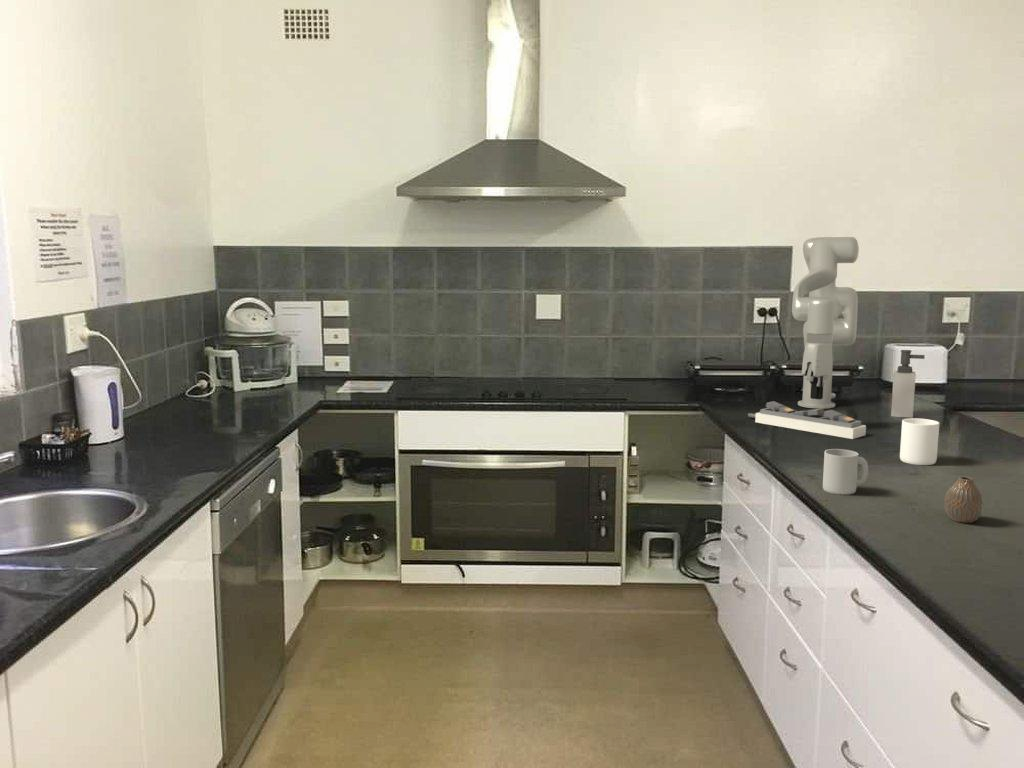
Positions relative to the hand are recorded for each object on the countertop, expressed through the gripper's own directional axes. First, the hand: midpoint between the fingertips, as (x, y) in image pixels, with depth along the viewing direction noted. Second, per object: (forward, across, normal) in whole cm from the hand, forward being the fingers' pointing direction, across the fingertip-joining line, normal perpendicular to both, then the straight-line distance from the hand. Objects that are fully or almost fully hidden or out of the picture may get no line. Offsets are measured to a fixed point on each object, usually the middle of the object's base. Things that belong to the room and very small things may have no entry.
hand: (816, 398), depth 245 cm
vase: (+12, +56, +65) cm, 87 cm away
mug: (+11, +14, +37) cm, 41 cm away
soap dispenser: (+10, -44, +8) cm, 45 cm away
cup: (+11, +54, +39) cm, 68 cm away
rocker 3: (+5, 0, +7) cm, 9 cm away
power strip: (+10, -1, -5) cm, 11 cm away
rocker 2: (+5, 0, -3) cm, 6 cm away
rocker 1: (+5, 0, -12) cm, 13 cm away
